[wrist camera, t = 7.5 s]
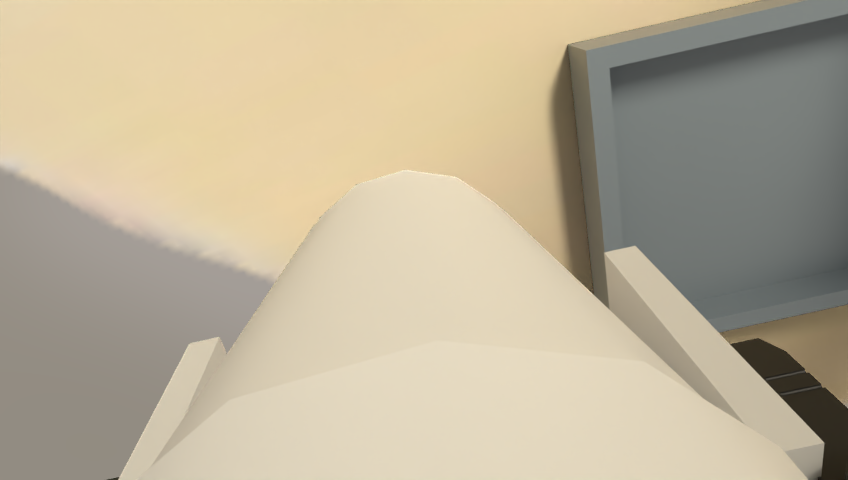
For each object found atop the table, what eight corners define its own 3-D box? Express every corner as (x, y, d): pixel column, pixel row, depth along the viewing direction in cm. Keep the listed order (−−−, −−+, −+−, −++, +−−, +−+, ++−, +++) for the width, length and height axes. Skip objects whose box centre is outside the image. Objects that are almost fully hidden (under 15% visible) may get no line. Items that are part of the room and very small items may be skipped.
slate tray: (567, 44, 29) (586, 50, 27) (907, -34, 29) (958, -35, 26) (597, 328, 36) (614, 355, 34) (872, 268, 36) (909, 290, 33)
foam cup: (315, 433, 19) (215, 1143, 8) (192, 176, 16) (-392, 789, 4) (596, 354, 19) (960, 984, 7) (538, 69, 15) (1104, 393, 3)
